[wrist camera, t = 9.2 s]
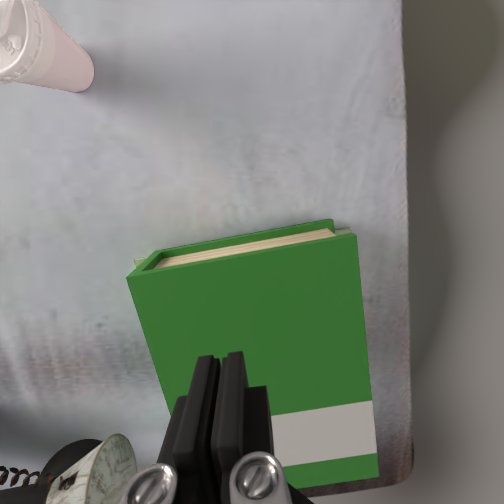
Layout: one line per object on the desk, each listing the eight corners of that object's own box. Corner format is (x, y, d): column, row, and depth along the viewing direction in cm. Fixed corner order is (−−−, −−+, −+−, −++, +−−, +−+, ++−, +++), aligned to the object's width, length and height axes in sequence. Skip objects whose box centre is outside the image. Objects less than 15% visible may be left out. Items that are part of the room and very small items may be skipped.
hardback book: (356, 235, 22) (379, 476, 29) (330, 218, 29) (353, 415, 36) (125, 277, 23) (198, 502, 30) (155, 250, 30) (208, 437, 37)
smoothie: (122, 94, 27) (-8, 22, 13) (57, 119, 27) (-131, 75, 14) (88, 13, 25) (-99, -164, 12) (20, 41, 26) (-236, -96, 12)
